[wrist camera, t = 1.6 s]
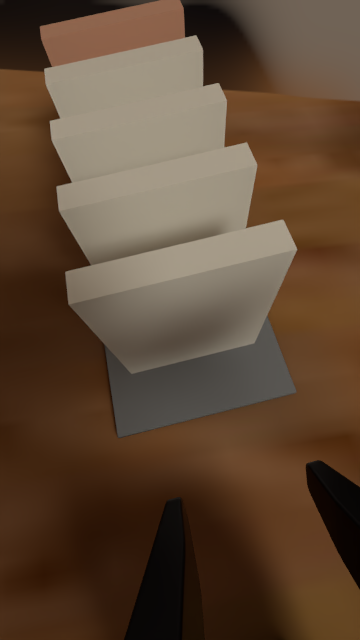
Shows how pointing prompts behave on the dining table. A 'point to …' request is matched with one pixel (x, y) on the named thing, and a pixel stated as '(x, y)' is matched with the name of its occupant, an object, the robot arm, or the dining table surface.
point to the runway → (198, 385)
